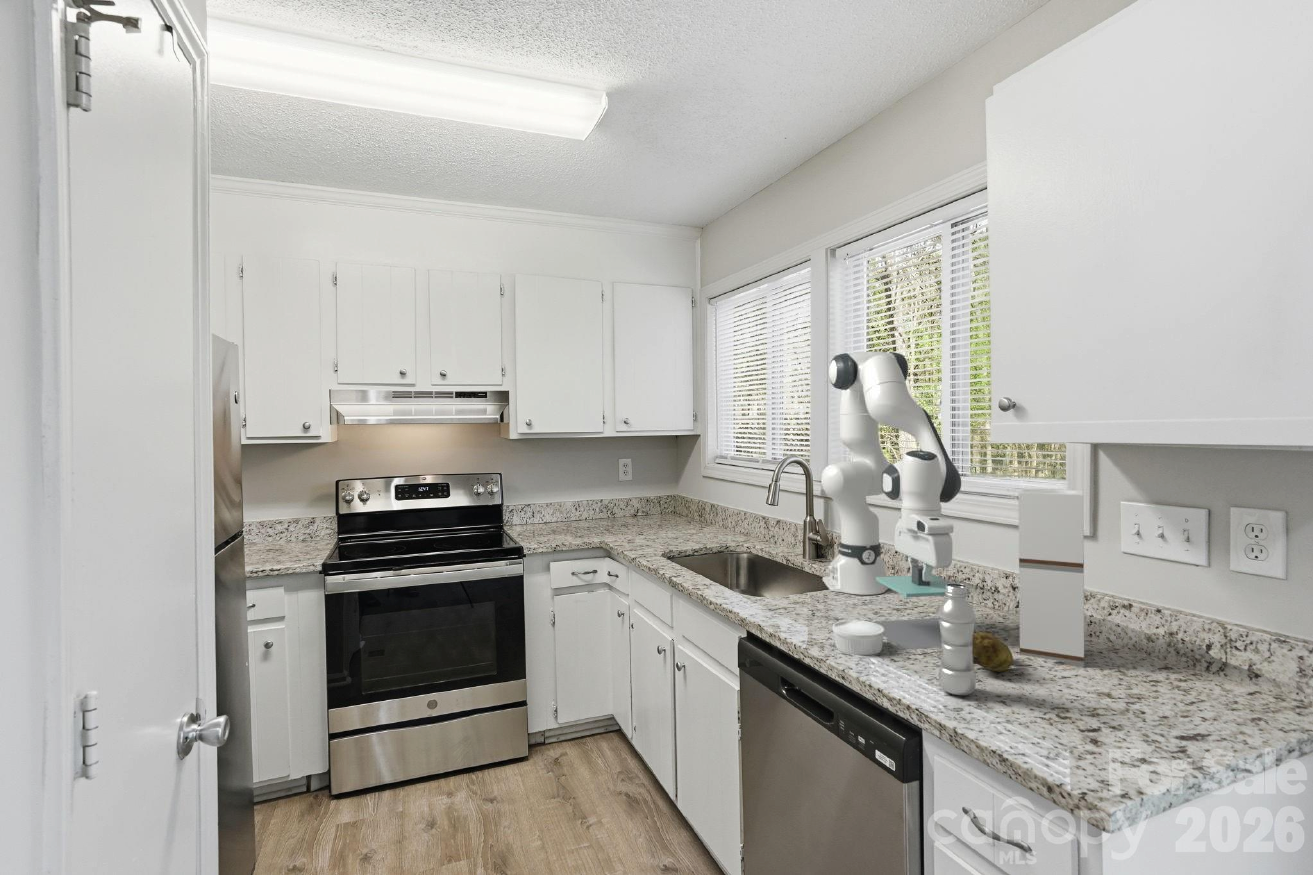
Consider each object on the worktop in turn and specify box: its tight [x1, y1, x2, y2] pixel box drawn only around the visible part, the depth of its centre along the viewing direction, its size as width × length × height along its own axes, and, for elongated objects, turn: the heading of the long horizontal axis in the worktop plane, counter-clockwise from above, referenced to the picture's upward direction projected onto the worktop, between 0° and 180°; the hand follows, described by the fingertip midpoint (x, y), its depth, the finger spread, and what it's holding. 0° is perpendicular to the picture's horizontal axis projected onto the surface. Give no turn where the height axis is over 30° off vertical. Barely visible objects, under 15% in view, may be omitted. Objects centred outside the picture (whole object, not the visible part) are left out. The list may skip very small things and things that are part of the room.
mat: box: [871, 617, 942, 651], centre depth 155 cm, size 20×20×1 cm
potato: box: [972, 632, 1014, 673], centre depth 133 cm, size 8×13×8 cm, turn 117°
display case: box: [1017, 487, 1086, 668], centre depth 141 cm, size 11×11×35 cm
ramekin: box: [832, 619, 885, 657], centre depth 146 cm, size 11×11×5 cm
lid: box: [876, 564, 970, 598], centre depth 155 cm, size 15×15×5 cm
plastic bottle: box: [937, 582, 977, 696], centre depth 122 cm, size 6×7×20 cm
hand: (920, 578), depth 155 cm, fingers closed on lid, 3 cm apart
